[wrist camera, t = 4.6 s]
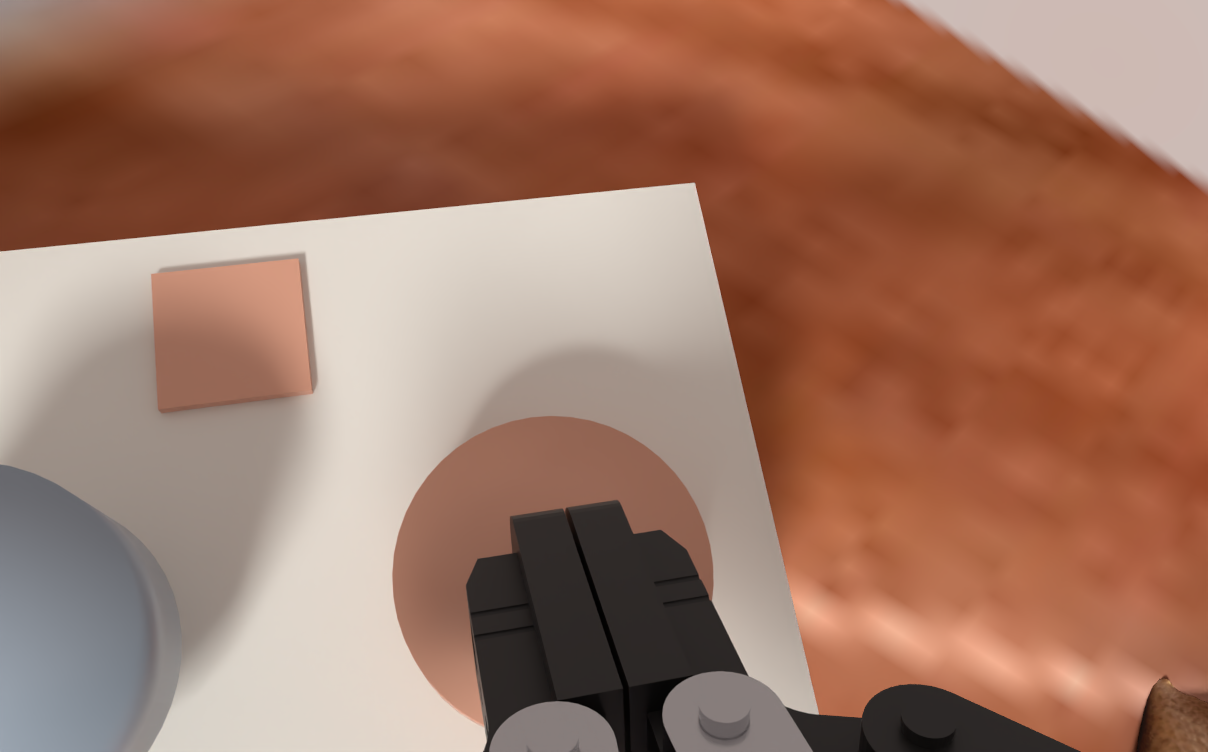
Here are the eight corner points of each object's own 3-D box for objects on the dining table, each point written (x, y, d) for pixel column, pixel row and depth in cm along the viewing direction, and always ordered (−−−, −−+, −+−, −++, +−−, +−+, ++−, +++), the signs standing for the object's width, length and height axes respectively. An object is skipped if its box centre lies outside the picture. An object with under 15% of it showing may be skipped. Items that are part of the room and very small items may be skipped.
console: (-438, 964, 20) (-1003, 1107, 12) (-381, 463, 23) (-806, 324, 15) (710, 736, 24) (827, 735, 16) (630, 336, 27) (696, 177, 19)
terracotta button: (418, 766, 16) (413, 770, 14) (384, 471, 17) (374, 439, 15) (712, 710, 16) (744, 706, 15) (655, 432, 18) (678, 397, 16)
